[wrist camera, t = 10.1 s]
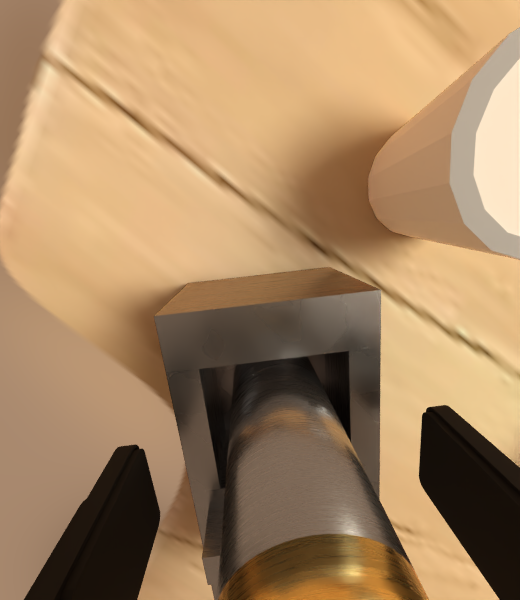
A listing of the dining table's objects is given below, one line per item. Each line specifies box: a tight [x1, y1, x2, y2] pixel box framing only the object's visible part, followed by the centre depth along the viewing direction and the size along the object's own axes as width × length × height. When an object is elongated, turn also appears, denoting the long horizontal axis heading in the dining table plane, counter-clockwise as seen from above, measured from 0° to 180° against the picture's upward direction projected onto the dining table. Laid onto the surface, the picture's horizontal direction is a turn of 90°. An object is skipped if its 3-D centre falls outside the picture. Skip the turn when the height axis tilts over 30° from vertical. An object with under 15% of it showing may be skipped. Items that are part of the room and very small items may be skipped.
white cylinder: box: [368, 27, 520, 260], centre depth 11 cm, size 7×7×7 cm
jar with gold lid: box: [216, 356, 429, 600], centre depth 9 cm, size 4×4×11 cm
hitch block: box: [154, 267, 381, 600], centre depth 14 cm, size 18×8×8 cm, turn 6°
